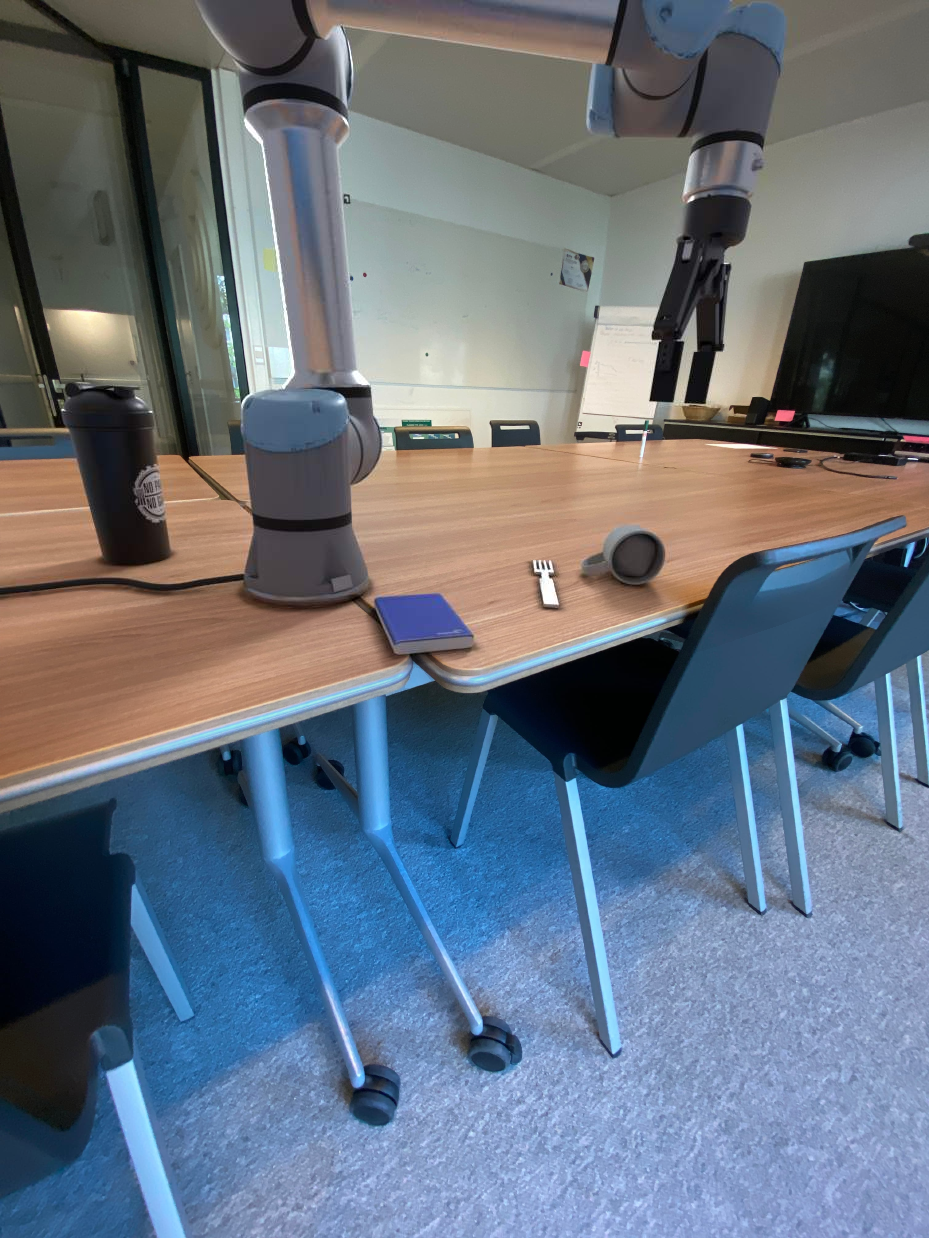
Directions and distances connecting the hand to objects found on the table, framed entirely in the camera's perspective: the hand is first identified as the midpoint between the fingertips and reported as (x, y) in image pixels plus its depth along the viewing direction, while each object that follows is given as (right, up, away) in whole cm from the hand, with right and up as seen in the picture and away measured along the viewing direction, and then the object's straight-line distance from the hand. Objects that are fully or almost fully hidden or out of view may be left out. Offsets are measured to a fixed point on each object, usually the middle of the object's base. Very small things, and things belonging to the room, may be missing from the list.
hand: (678, 403), depth 69 cm
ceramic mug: (-5, -22, +9) cm, 24 cm away
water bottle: (-75, -19, +8) cm, 78 cm away
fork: (-17, -23, +5) cm, 29 cm away
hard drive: (-33, -29, -10) cm, 45 cm away
